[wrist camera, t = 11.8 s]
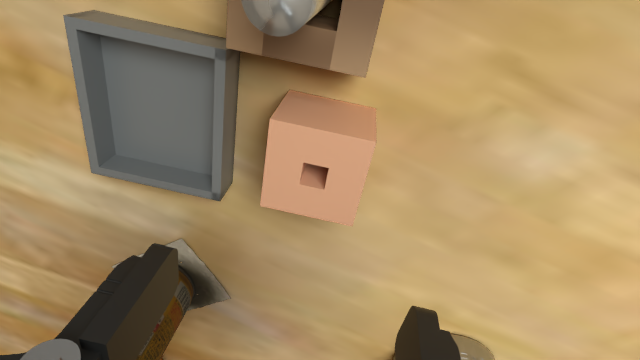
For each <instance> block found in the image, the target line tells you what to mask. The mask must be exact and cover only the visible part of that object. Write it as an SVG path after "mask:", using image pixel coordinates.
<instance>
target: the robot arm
mask: <svg viewBox="0 0 640 360" xmlns="http://www.w3.org/2000/svg"><path fill="white" fill-rule="evenodd" d="M178 281H179V272H178V250H177V249H176V248H172V247H168V246H164V245H160V244H152V245H151V246H150V247H149V248H148V250H147V251H146V252H145V254H144V255H143V256H142V257H138V256H134V255H133V256H131V257H129V258H128V259H126V260H125V261H123V262H121V263H120V264H118V265H117V266H116V267H115V269H114V270H113V271H112V272H111V273H110V274H109V276H108V277H107V278H106V281H104V282H103V283H102V284H101V285H100V286H99V288H98V289H97V291H96V292H94V294H93V295H92V296H91V297H90V298H89V300H88V301H87V302H86V303H85V304H84V306H83V307H82V308H81V309H80V310H79V311H78V313H77V314H76V315H75V316H74V317H73V319H72V320H71V321H70V322H69V323H68V325H67V326H66V327H65V328H64V329H63V331H62V332H61V333H60V334H59V335H58V336H57V337H56V338H54V339H53V340H49V341H46V342H43V343H41V344H39V345H37V346H35V347H33V348H32V349H31V350H29V351H28V352H26V353H21V354H12V355H0V360H136V359H137V357H138V355H139V354H140V352H141V350H142V349H143V347H144V345H145V343H146V342H147V340H148V338H149V337H150V335H151V333H152V332H153V330H154V328H155V327H156V325H157V323H158V322H159V320H160V318H161V317H162V315H163V313H164V312H165V310H166V308H167V307H168V305H169V303H170V302H171V300H172V298H173V296H174V294H175V292H176V289H177V286H178ZM393 360H495V359H494V356H493V354H492V353H491V352H490V351H489V349H488V348H486V347H485V346H484V345H482V344H481V343H479V342H477V341H475V340H473V339H471V338H467V337H464V336H460V335H453V334H450V332H449V331H444V330H440V328H439V322H438V316H437V313H436V312H435V311H433V310H429V309H425V308H420V307H416V306H412V307H411V308H410V310H409V312H408V314H407V316H406V318H405V320H404V322H403V324H402V326H401V328H400V330H399V332H398V334H397V338H396V343H395V356H394V358H393Z"/></svg>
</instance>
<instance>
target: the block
mask: <svg viewBox="0 0 640 360" xmlns="http://www.w3.org/2000/svg"><path fill="white" fill-rule="evenodd" d="M375 145H376V108H372V107H367V106H362V105H358V104H353V103H348V102H344V101H339V100H335V99H330V98H325V97H321V96H316V95H311V94H307V93H302V92H297V91H293V90H289V91H288V93H287V94H286V96H285V97H284V99H283V100H282V101H281V103H280V104H279V106H278V107H277V109H276V110H275V112H274V113H273V115H272V116H271V118H270V121H269V130H268V139H267V148H266V157H265V166H264V175H263V184H262V193H261V202H260V206H263V207H267V208H272V209H276V210H281V211H285V212H290V213H294V214H299V215H303V216H308V217H312V218H317V219H321V220H326V221H330V222H335V223H339V224H344V225H348V226H353V222H354V219H355V215H356V212H357V208H358V205H359V201H360V198H361V194H362V191H363V187H364V184H365V180H366V177H367V173H368V170H369V166H370V163H371V159H372V156H373V152H374V149H375Z"/></svg>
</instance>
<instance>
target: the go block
mask: <svg viewBox="0 0 640 360" xmlns="http://www.w3.org/2000/svg"><path fill="white" fill-rule="evenodd" d="M383 4H384V0H343V1H342V7H341V12H340V17H339V19H336V18H331V17H326V16H321V15H317V14H316V15H315V16H314V17H312V18H311V19H310V20H309V21H308V22H307V23H306V24H304V25H303V26H302V27H301V28H300V29H299V30H297V31H296V32H294V33H292V34H290V35H287V36H271V35H268V34H265V33H263V32H262V31H260V30H259V29H257V28H256V27H255V26H254V25H253V24H252V23H251V22H250V20H249V19H248V17H247V15H246V13H245V11H244V9H243V6H242V1H241V0H228V8H227V34H226V48H229V49H233V50H238V51H243V52H247V53H252V54H257V55H261V56H266V57H271V58H275V59H280V60H285V61H289V62H294V63H299V64H303V65H308V66H313V67H317V68H322V69H327V70H331V71H336V72H341V73H346V74H350V75H355V76H360V77H364V78H366V74H367V70H368V66H369V62H370V58H371V54H372V49H373V45H374V41H375V37H376V33H377V29H378V25H379V21H380V17H381V12H382V8H383Z"/></svg>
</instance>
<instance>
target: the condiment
mask: <svg viewBox="0 0 640 360" xmlns="http://www.w3.org/2000/svg"><path fill="white" fill-rule="evenodd" d="M165 246H168V247H172V248H176V249H177V250H178V272H179V281H178V286H177V289H176V292H175V294H174V296H173V298H172V300H171V302H170V303H169V305H168V307H167V308H166V310H165V312H164V313H163V315H162V317H161V318H160V320H159V322H158V323H157V325H156V327H155V328H154V330H153V332H152V333H151V335H150V337H149V338H148V340H147V342H146V343H145V345H144V347H143V349H142V350H141V352H140V354H139V355H138V357H137V359H136V360H160V358H161V357H162V355H163V353H164V351H165V349H166V348H167V346H168V344H169V342H170V340H171V339H172V337H173V335H174V333H175V331H176V329H177V327H178V326H179V324H180V322H181V320H182V318H183V317H184V315H185V313H186V311H187V310H191V309H195V308H200V307H203V306H206V305H210V304H212V303H216V302H221V301H224V300H227V299H231V298H230V296H229V295H228V294H227V293H226V291H225V289H224V288H223V287H222V285H221V284H220V283H219V282H218V281H217V279H216V278H215V276H214V275H213V274H212V273H211V272H210V271H209V269H208V268H207V267H206V266H205V264H204V262H202V261H201V260H200V259H199V258H198V257H197V256H196V254H195V253H194V252H193V250H192V249H191V248H189V246H188V245H187V244H186V243H185V242H184V241H183V239H179V240H177V241H175V242H172V243H169V244H167V245H165ZM144 254H145V253H143V254H140V255H138V257H142V256H143V255H144ZM179 262H182V263H179ZM120 263H121V262H120ZM120 263H118V264H120ZM118 264H116V265H114V266H112V267H113V268H114V269H115V267H116V266H117V265H118ZM197 294H198V295H197Z"/></svg>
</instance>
